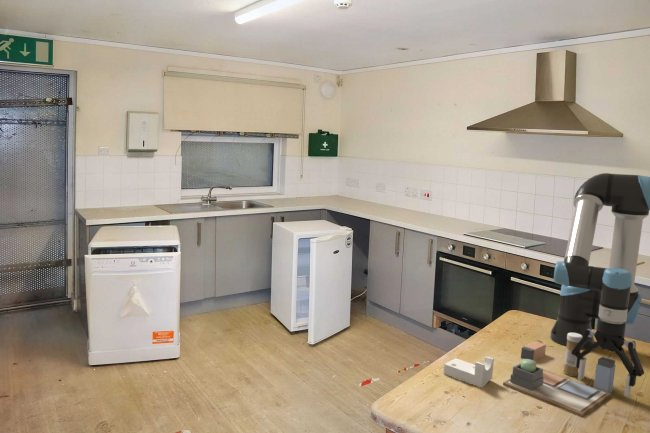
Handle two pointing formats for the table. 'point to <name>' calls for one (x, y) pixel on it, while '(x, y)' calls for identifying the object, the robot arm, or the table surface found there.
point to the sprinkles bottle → (569, 358)
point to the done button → (528, 365)
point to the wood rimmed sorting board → (564, 393)
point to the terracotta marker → (533, 350)
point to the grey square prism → (604, 374)
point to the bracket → (470, 371)
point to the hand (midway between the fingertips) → (603, 386)
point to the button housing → (527, 378)
